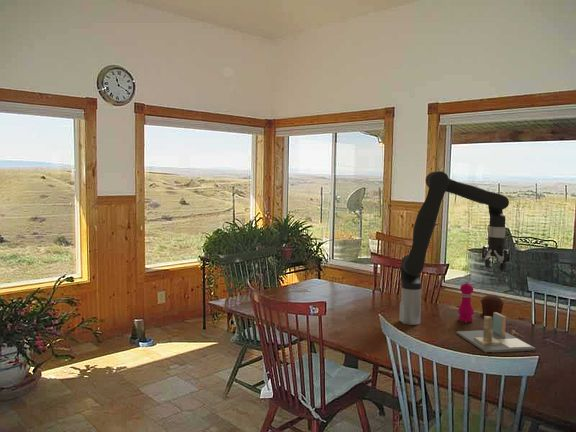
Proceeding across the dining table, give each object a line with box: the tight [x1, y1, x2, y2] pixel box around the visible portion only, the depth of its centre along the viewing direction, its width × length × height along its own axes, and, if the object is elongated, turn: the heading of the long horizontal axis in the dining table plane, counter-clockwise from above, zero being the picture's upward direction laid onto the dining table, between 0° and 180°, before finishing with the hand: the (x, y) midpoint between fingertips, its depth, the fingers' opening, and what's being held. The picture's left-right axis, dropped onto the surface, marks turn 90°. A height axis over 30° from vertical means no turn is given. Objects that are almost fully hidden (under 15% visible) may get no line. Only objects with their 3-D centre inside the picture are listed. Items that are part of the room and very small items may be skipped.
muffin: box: [480, 294, 505, 318], centre depth 248 cm, size 12×11×10 cm
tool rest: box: [496, 337, 533, 348], centre depth 201 cm, size 10×10×1 cm
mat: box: [456, 329, 536, 354], centre depth 206 cm, size 22×24×1 cm
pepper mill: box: [457, 280, 475, 323], centre depth 236 cm, size 7×7×20 cm
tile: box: [492, 312, 507, 337], centre depth 212 cm, size 2×7×9 cm, turn 9°
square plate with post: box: [474, 315, 501, 345], centre depth 202 cm, size 8×7×11 cm
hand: (494, 269), depth 230 cm, fingers open, 8 cm apart
